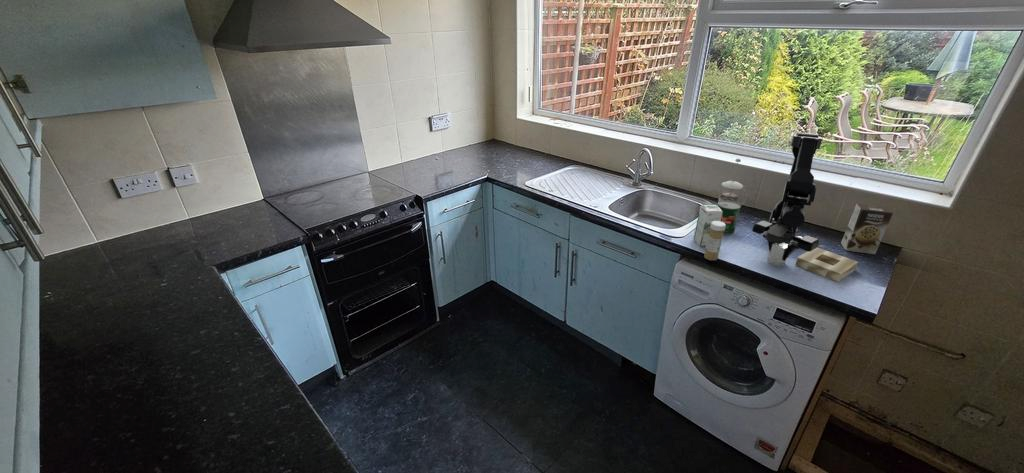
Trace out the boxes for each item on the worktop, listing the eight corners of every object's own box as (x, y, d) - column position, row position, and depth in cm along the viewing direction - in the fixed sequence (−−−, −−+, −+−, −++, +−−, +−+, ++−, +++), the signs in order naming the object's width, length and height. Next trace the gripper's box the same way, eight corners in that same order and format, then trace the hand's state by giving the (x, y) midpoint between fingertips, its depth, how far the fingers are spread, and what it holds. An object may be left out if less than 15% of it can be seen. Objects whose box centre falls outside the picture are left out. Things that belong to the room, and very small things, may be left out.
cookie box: (845, 250, 155) (861, 209, 148) (840, 243, 161) (855, 202, 154) (876, 254, 153) (893, 213, 145) (869, 246, 158) (886, 206, 151)
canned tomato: (731, 226, 174) (737, 201, 169) (736, 235, 167) (743, 209, 162) (710, 225, 175) (715, 200, 170) (715, 234, 168) (720, 208, 163)
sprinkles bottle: (710, 253, 154) (717, 219, 148) (720, 259, 151) (729, 224, 145) (700, 256, 153) (708, 221, 147) (711, 262, 149) (719, 227, 143)
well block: (794, 265, 147) (797, 257, 145) (812, 254, 153) (815, 246, 152) (838, 282, 137) (841, 274, 136) (855, 269, 144) (858, 261, 142)
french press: (709, 210, 189) (721, 154, 177) (738, 211, 187) (752, 155, 176) (716, 220, 180) (729, 161, 169) (745, 221, 179) (760, 162, 167)
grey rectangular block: (767, 262, 149) (772, 244, 146) (773, 258, 151) (778, 241, 148) (779, 267, 146) (784, 248, 143) (785, 263, 148) (790, 245, 145)
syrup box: (708, 239, 164) (715, 204, 158) (714, 246, 159) (723, 210, 153) (693, 239, 164) (700, 204, 158) (699, 247, 159) (707, 210, 152)
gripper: (749, 212, 143) (738, 253, 150) (809, 232, 129) (794, 276, 136) (766, 204, 149) (755, 244, 156) (826, 223, 135) (811, 266, 142)
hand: (777, 257), depth 147 cm, fingers closed on grey rectangular block, 4 cm apart
